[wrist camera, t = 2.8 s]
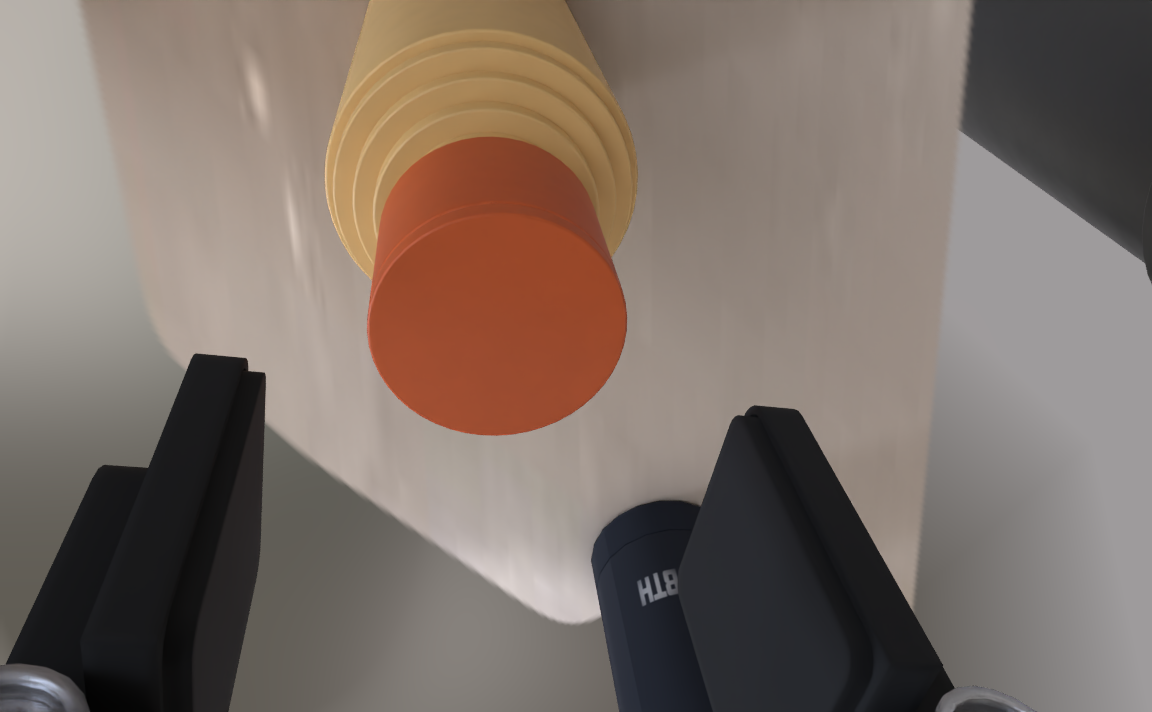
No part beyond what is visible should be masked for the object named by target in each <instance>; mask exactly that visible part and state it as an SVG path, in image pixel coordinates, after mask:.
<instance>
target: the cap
mask: <svg viewBox="0 0 1152 712" xmlns="http://www.w3.org/2000/svg"><path fill="white" fill-rule="evenodd" d="M626 332H627V312H626V303H625V299H624V295H623V291H622V288H621V285H620V282H619V279H618V276H617V273H616V270H615V267H614V265H613V262H612V259H611V256H610V253H609V250H608V247H607V244H606V241H605V238H604V235H603V232H602V229H601V227H600V224H599V221H598V218H597V215H596V212H595V209H594V206H593V204H592V201H591V199H590V197H589V194H588V192H587V191H586V189H585V187H584V186H583V184H582V183H581V181H580V180H579V179H578V177H577V176H576V175H575V174H574V173H573V171H572V170H571V169H570V168H568V167H567V166H566V165H565V164H564V163H563V162H562V161H561V160H559V159H558V158H556V157H555V156H553V155H552V154H551V153H549V152H547V151H545V150H543V149H541V148H539V147H537V146H535V145H532V144H529V143H526V142H524V141H520V140H515V139H511V138H504V137H475V138H469V139H463V140H459V141H456V142H452V143H449V144H446V145H444V146H442V147H440V148H437V149H435V150H433V151H432V152H430V153H428V154H427V155H425V156H423V157H422V158H420V159H419V160H418V161H417V162H416V163H414V164H413V165H412V166H411V167H410V168H409V169H408V170H407V171H406V172H405V173H404V174H403V175H402V176H401V177H400V179H399V180H398V181H397V183H396V184H395V186H394V187H393V189H392V190H391V192H390V194H389V196H388V198H387V200H386V203H385V206H384V209H383V212H382V215H381V220H380V226H379V233H378V241H377V248H376V256H375V264H374V271H373V279H372V287H371V294H370V302H369V310H368V318H367V334H368V341H369V348H370V351H371V354H372V358H373V361H374V363H375V365H376V367H377V370H378V372H379V374H380V375H381V377H382V378H383V380H384V381H385V383H386V384H387V386H388V387H389V388H390V390H391V391H392V392H393V393H394V394H395V395H396V396H397V398H398V399H400V400H401V401H402V402H403V403H404V404H405V405H406V406H408V407H409V408H410V409H411V410H413V411H414V412H416V413H417V414H419V415H420V416H422V417H424V418H426V419H428V420H430V421H432V422H433V423H435V424H438V425H441V426H443V427H446V428H449V429H452V430H456V431H460V432H464V433H470V434H477V435H496V436H497V435H511V434H517V433H523V432H528V431H532V430H535V429H539V428H542V427H545V426H547V425H550V424H552V423H555V422H557V421H559V420H561V419H563V418H564V417H566V416H568V415H570V414H572V413H573V412H574V411H576V410H577V409H579V408H580V407H582V406H583V405H584V404H585V403H586V402H588V401H589V400H590V399H591V398H592V397H593V396H594V395H595V394H596V393H597V392H598V391H599V390H600V389H601V388H602V386H603V385H604V384H605V383H606V381H607V380H608V378H609V377H610V375H611V374H612V372H613V370H614V368H615V366H616V364H617V362H618V360H619V358H620V355H621V352H622V349H623V346H624V342H625V337H626Z"/></svg>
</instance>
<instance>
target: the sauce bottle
mask: <svg viewBox="0 0 1152 712" xmlns="http://www.w3.org/2000/svg"><path fill="white" fill-rule="evenodd" d="M475 137H504V138H511V139H515V140H520V141H524V142H526V143H529V144H532V145H535V146H537V147H539V148H541V149H543V150H545V151H547V152H549V153H551V154H552V155H553V156H555V157H556V158H558V159H559V160H561V161H562V162H563V163H564V164H565V165H566V166H567V167H568V168H570V169H571V170H572V171H573V173H574V174H575V175H576V176H577V177H578V179H579V180H580V181H581V183H582V184H583V186H584V187H585V189H586V191H587V192H588V194H589V197H590V199H591V201H592V204H593V206H594V209H595V212H596V215H597V218H598V221H599V224H600V227H601V229H602V232H603V235H604V238H605V241H606V244H607V247H608V250H609V253H610V256H611V257H612V256H613V254H614V253H615V251H616V250H617V248H618V247H619V245H620V243H621V241H622V239H623V237H624V235H625V233H626V231H627V229H628V226H629V223H630V220H631V217H632V214H633V211H634V206H635V200H636V195H637V182H638V168H637V157H636V151H635V147H634V142H633V138H632V134H631V132H630V129H629V126H628V124H627V121H626V119H625V116H624V114H623V112H622V110H621V108H620V106H619V105H618V103H617V101H616V99H615V97H614V95H613V93H612V91H611V89H610V87H609V85H608V83H607V81H606V79H605V77H604V75H603V73H602V72H601V70H600V68H599V66H598V64H597V62H596V60H595V58H594V56H593V54H592V52H591V50H590V48H589V46H588V44H587V42H586V40H585V39H584V37H583V35H582V33H581V31H580V29H579V27H578V25H577V23H576V21H575V19H574V17H573V15H572V13H571V11H570V9H569V7H568V6H567V4H566V2H565V0H370V2H369V5H368V9H367V12H366V15H365V19H364V22H363V26H362V29H361V33H360V36H359V39H358V43H357V46H356V50H355V53H354V57H353V60H352V63H351V67H350V70H349V74H348V77H347V80H346V84H345V87H344V91H343V94H342V98H341V101H340V104H339V108H338V111H337V115H336V118H335V122H334V125H333V128H332V132H331V135H330V139H329V142H328V146H327V153H326V160H325V190H326V196H327V203H328V207H329V211H330V214H331V217H332V221H333V224H334V226H335V228H336V230H337V233H338V235H339V237H340V239H341V241H342V243H343V245H344V246H345V248H346V249H347V251H348V253H349V254H350V256H351V257H352V259H353V260H354V261H355V262H356V263H357V265H358V266H359V267H360V268H361V270H362V271H363V272H364V273H365V274H366V275H367V276H368V277H369V278H370V279H371V280H372V279H373V271H374V264H375V256H376V248H377V241H378V233H379V226H380V220H381V215H382V212H383V209H384V206H385V203H386V200H387V198H388V196H389V194H390V192H391V190H392V189H393V187H394V186H395V184H396V183H397V181H398V180H399V179H400V177H401V176H402V175H403V174H404V173H405V172H406V171H407V170H408V169H409V168H410V167H411V166H412V165H413V164H414V163H416V162H417V161H418V160H419V159H420V158H422V157H423V156H425V155H427V154H428V153H430V152H432V151H433V150H435V149H437V148H440V147H442V146H444V145H446V144H449V143H452V142H456V141H459V140H463V139H469V138H475Z"/></svg>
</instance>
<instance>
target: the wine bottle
mask: <svg viewBox="0 0 1152 712" xmlns="http://www.w3.org/2000/svg"><path fill="white" fill-rule="evenodd" d="M700 508H701V507H699V506H696V505H692V504H689V503H685V502H682V501H658V502H653V503H649V504H644V505H640V506H637V507H635V508H633V509H631V510H629V511H627V512H625V513H623V514H621V515H619V516H618V517H617V518H615V519H614V520H613V521H612V522H611V523H610V524H609V525H607V526H606V527H605V528H604V529H603V531H602V532H601V534H600V536H599V537H598V539H597V540H596V542H595V544H594V548H593V554H592V559H591V562H592V567H593V573H594V578H595V583H596V589H597V594H598V600H599V605H600V610H601V616H602V621H603V626H604V632H605V637H606V643H607V648H608V653H609V659H610V664H611V669H612V675H613V680H614V686H615V691H616V696H617V702H618V707H619V712H713V710H712V707H711V703H710V700H709V697H708V693H707V690H706V687H705V683H704V680H703V676H702V673H701V670H700V666H699V663H698V660H697V656H696V653H695V649H694V646H693V643H692V639H691V636H690V633H689V629H688V626H687V623H686V619H685V616H684V612H683V609H682V606H681V602H680V599H679V594H678V586H677V583H678V571H679V568H680V564H681V561H682V559H683V556H684V553H685V550H686V547H687V544H688V542H689V539H690V536H691V533H692V530H693V528H694V525H695V522H696V519H697V516H698V513H699V511H700Z"/></svg>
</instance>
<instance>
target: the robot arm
mask: <svg viewBox="0 0 1152 712" xmlns="http://www.w3.org/2000/svg"><path fill="white" fill-rule="evenodd" d="M265 392H266V376H265V373H262V372H251V371H248V361H247V359H246V358H239V357H228V356H217V355H206V354H194V355H193V357H192V359H191V361H190V364H189V366H188V369H187V371H186V374H185V377H184V379H183V381H182V384H181V386H180V389H179V392H178V394H177V397H176V399H175V402H174V404H173V407H172V409H171V412H170V414H169V417H168V420H167V422H166V425H165V427H164V430H163V432H162V435H161V437H160V440H159V442H158V445H157V447H156V450H155V453H154V455H153V458H152V460H151V462H150V465H149V467H148V468H142V467H126V466H112V465H103V466H102V467H100V468H99V469H98V470H97V472H96V474H95V475H94V477H93V478H92V481H91V483H90V485H89V487H88V489H87V491H86V494H85V496H84V498H83V500H82V502H81V504H80V506H79V509H78V511H77V513H76V515H75V517H74V519H73V521H72V523H71V526H70V528H69V530H68V532H67V534H66V536H65V538H64V541H63V543H62V545H61V547H60V549H59V552H58V553H57V556H56V558H55V560H54V562H53V564H52V566H51V568H50V570H49V573H48V575H47V577H46V579H45V581H44V583H43V585H42V588H41V590H40V592H39V594H38V596H37V598H36V601H35V603H34V605H33V607H32V609H31V611H30V613H29V615H28V618H27V620H26V622H25V624H24V626H23V628H22V630H21V633H20V635H19V637H18V639H17V641H16V643H15V645H14V648H13V650H12V652H11V654H10V656H9V658H8V660H7V663H6V665H0V712H228V711H229V706H230V701H231V696H232V691H233V687H234V682H235V677H236V673H237V668H238V663H239V658H240V654H241V649H242V644H243V639H244V634H245V630H246V624H247V621H248V615H249V611H250V606H251V601H252V597H253V591H254V587H255V583H256V578H257V572H258V565H259V557H260V556H259V555H260V542H261V541H260V539H261V512H262V511H261V510H262V482H263V451H264V422H265ZM677 586H678V594H679V599H680V602H681V606H682V609H683V612H684V616H685V619H686V623H687V626H688V629H689V633H690V636H691V639H692V643H693V646H694V649H695V653H696V656H697V660H698V663H699V666H700V670H701V673H702V676H703V680H704V683H705V687H706V690H707V693H708V697H709V700H710V703H711V707H712V710H713V712H1036V711H1035V710H1033V709H1032V708H1030V707H1028V706H1027V705H1025V704H1024V703H1022V702H1021V701H1019V700H1017V699H1016V698H1014V697H1011V696H1008V695H1006V694H1004V693H1001V692H999V691H996V690H994V689H989V688H983V687H978V686H967V687H959V688H954V686H953V684H952V683H951V681H950V679H949V677H948V676H947V674H946V672H945V670H944V668H943V664H942V663H941V661H940V659H939V657H938V656H937V654H936V652H935V650H934V648H933V647H932V645H931V643H930V641H929V640H928V638H927V636H926V634H925V633H924V631H923V629H922V627H921V626H920V624H919V622H918V620H917V618H916V617H915V615H914V613H913V611H912V609H911V608H910V606H909V604H908V602H907V601H906V599H905V597H904V595H903V594H902V592H901V590H900V588H899V586H898V585H897V583H896V581H895V579H894V578H893V576H892V574H891V572H890V571H889V569H888V567H887V565H886V563H885V562H884V560H883V558H882V556H881V555H880V553H879V551H878V549H877V548H876V546H875V544H874V542H873V540H872V539H871V537H870V535H869V533H868V532H867V530H866V528H865V526H864V524H863V523H862V521H861V519H860V517H859V516H858V514H857V512H856V510H855V509H854V507H853V505H852V503H851V501H850V500H849V498H848V496H847V494H846V493H845V491H844V489H843V487H842V486H841V484H840V482H839V480H838V478H837V477H836V475H835V473H834V471H833V470H832V468H831V466H830V464H829V463H828V461H827V459H826V457H825V455H824V454H823V452H822V450H821V448H820V447H819V445H818V443H817V441H816V440H815V438H814V436H813V434H812V432H811V431H810V429H809V427H808V425H807V424H806V422H805V420H804V418H803V417H802V415H801V414H800V413H799V411H797V410H795V409H788V408H777V407H766V406H755V405H754V406H752V407H750V408H749V409H748V410H747V412H746V413H745V416H740V415H738V416H735V417H734V419H733V420H732V422H731V424H730V426H729V429H728V432H727V435H726V437H725V440H724V443H723V446H722V449H721V452H720V454H719V457H718V460H717V463H716V466H715V468H714V471H713V474H712V477H711V480H710V483H709V485H708V488H707V491H706V494H705V497H704V499H703V502H702V505H701V508H700V511H699V513H698V516H697V519H696V522H695V525H694V528H693V530H692V533H691V536H690V539H689V542H688V544H687V547H686V550H685V553H684V556H683V559H682V561H681V564H680V568H679V571H678V583H677Z"/></svg>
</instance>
